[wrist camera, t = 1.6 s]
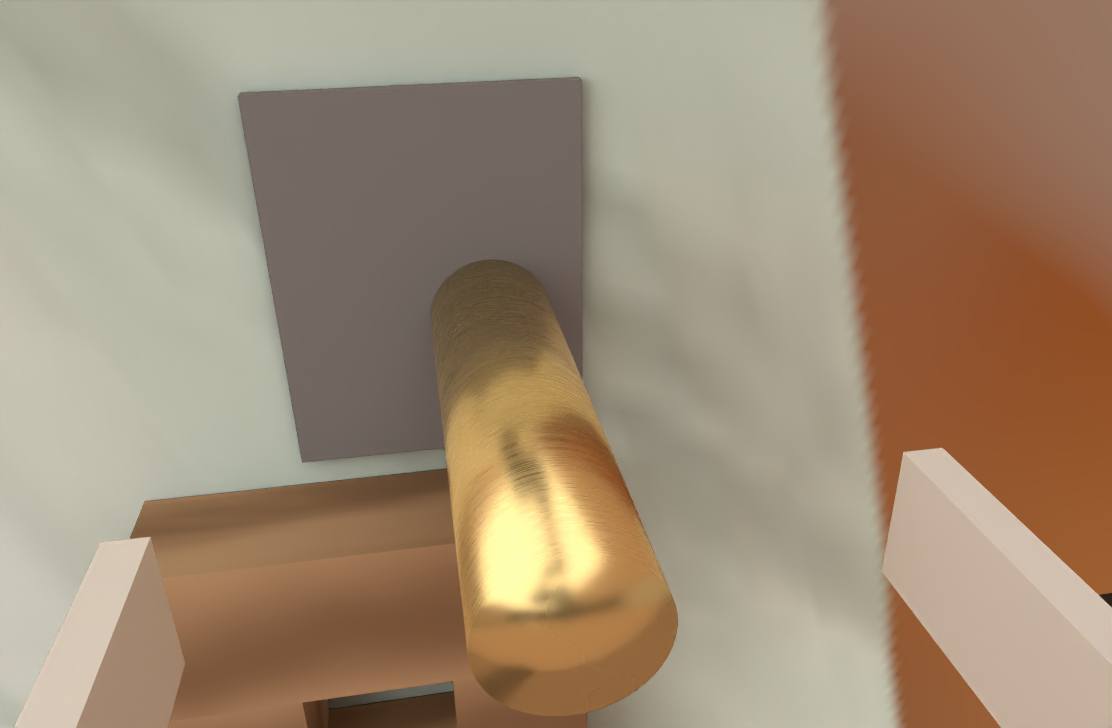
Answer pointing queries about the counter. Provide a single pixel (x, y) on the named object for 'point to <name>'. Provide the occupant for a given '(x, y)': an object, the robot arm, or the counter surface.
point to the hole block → (321, 606)
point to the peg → (539, 507)
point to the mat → (404, 236)
